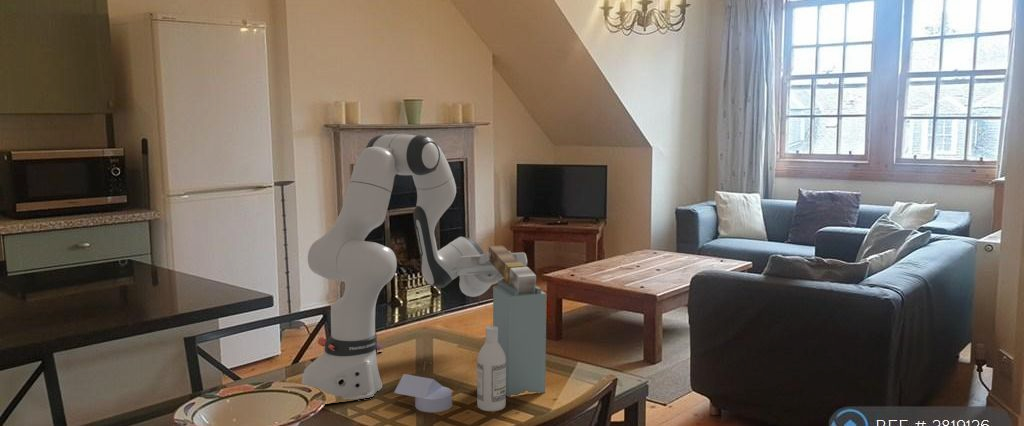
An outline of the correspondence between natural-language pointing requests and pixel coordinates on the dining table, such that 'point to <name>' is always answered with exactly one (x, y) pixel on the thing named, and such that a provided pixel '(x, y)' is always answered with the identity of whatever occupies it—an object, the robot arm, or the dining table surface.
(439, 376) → the dining table surface
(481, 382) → the bath foam
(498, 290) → the pale blue tall block
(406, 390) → the wedge on round base
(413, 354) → the dining table surface
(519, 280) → the patterned long box
